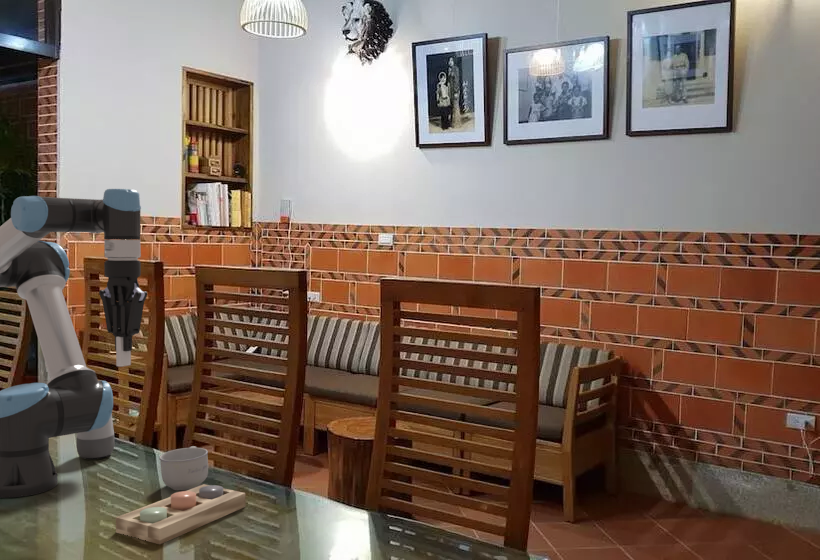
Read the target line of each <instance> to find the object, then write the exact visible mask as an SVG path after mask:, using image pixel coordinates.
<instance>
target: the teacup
mask: <svg viewBox="0 0 820 560" xmlns="http://www.w3.org/2000/svg"><path fill="white" fill-rule="evenodd" d="M208 453H209V451H208V450H207V449H206V448H202V447H197V446H194V445H192V446H189V447H184V448H182V447H181V448H177V449H172V450H168V451H165V452H164V453H162V454H161V455H160V456H159V463H160V473H161V480H162V483H163V484H165V485H166V486H167V487H169V488H170V489H171V490H174V491H187V490H190V489H192V488H195V487H198V486H200V485H202V484H203V482H205V480H206V479H207V477H208V475H209V459H208Z"/></svg>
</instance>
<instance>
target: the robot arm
mask: <svg viewBox="0 0 820 560" xmlns="http://www.w3.org/2000/svg"><path fill="white" fill-rule="evenodd" d="M140 199H141V198H140V193H139V192H138V191H137V190H136V189H130V188H107V189H105V190H104V192H103V198H102V199H94V198H93V199H91V198H74V197H73V198H70V197H69V198H67V197H52V196H51V197H49V196H38V195H29V196H27V195H26V196H25V195H23V196H19V197H17V198H15V199H14V200H13V202H12V203H13V204H12V205H11V209H10V218H9V219H8V220H6V221H5V222H4V223H2V225H0V288H3V287H4V288H6V287H7V288H8V287H10V288H11V287H15V289H16V293H17V296H18V297H19V298H21V299H23V300H26V303H27V306H28V309H29V312H30V315H31V319H32V324H33V326H34V329H35V332H36V336H37V340H38V343H39V346H40V349H41V352H42V356H43V359H44V363H45V365H46V369H47V372H48V376H49V380H48V381H47V383H45V382H31V383H22V384H17V385H13V386H9V387H7V388H3V389H1V390H0V498H2V499H3V498H5V499H8V498H11V499H12V498H21V497H22V498H23V497H28V496H33V495H38V494H41V493H45V492H47V491H49V490H52V489H54V488H55V487H56V486H57V485H58V472H57V470H56V466H55V465H54V461H53V458H52V456H51V454H50V446H49V444H50V443H49V442H50V441H49V440H50V439H51V438H56V437H61V436H62V437H63V436H68V435H72V434H73V435H74V434H77V433H80V432H89V431H91V430H95V429H99V428H102V427H104V426H105V425H106V424H107V423H108V421H109V419H110V417H111V414H112V413H113V409H114V395H113V390H112V387H111V385H110V383H108V381H106V380H102V379H101V380H98V377H97V374H96V373H97V372H96V371H95V370H94V369H91V368H89V367H87V364H86V361H85V358H84V354H83V351H82V348H81V345H80V343H79V339H78V337H77V336H78V335H77V334H76V331H75V330H76V329H75V327H74V324H73V321H72V318H71V314H70V312H69V311H70V310H69V308H68V306H67V302H66V299H65V296H64V294H63V290H64V288H65V287H66V284H67V282H68V280H69V278H70V275H71V274H70V273H71V269H70V268H69V267H70V262H69V258H68V255H67V252H66V251H65V249H64V248H63V247H62V246H61V245H60V244H58V243H56V242H51V241H43V240H42V239H44V237H46V236H48V234H50V233H89V234H90V233H91V234H103V236H104V237H103V239H104V242H103V243H104V246H103V247H104V257H105V258H106V259H107V260H105V261H104V265H103V267H104V277H106V278H108V279H107V283H106V287H105V288H104V289H100V290H99V291H98V294H99V297H100V299H101V302H102V307H103V313H104V318H105V325H106V330H107V331H106V332H108V333H109V334H110V333H111V334H112V335H113V337H114V350H115V352H116V353H115V354H116V359H115V360H116V361H115V362H116V363H115V366H116V367H122V368H123V367H127V366H131V365H132V350H133V336H134V335H138V334H139V333H140V330H141V324H142V319H143V310H144V305H145V301H146V299H147V297H148V292H147V291H143V290H142V289H141V288H140V283H139V281H138V278H139V277H141V276H142V275H141V272H142V271H141V269H142V268H141V267H142V266H141V265H142V264H141V261H140V260H139V258H141V257H142V254H141V253H142V251H141V249H142V248H141V245H142V244H141V209H142V206H141V201H140Z"/></svg>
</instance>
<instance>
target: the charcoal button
mask: <svg viewBox="0 0 820 560" xmlns="http://www.w3.org/2000/svg"><path fill="white" fill-rule="evenodd" d="M223 488H224V487H223V486H221V485H215V484H214V485H211V484H210V486H205V487H202V488H200V489H199V497H202V498H207V499H211V500H212V499H215V498H217V497H220V496H222V495H223Z"/></svg>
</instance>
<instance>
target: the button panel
mask: <svg viewBox="0 0 820 560" xmlns="http://www.w3.org/2000/svg"><path fill="white" fill-rule="evenodd" d="M210 485H211V484H210ZM210 485H209V484H205V483H204V484H203V483H202V484H201V485H200V486H198V487H195V488H192V489H189V490H186V491H192V492H195V493H196V506H195V507H192V508H190V509H188V510H185V511H181V510H177V509H173V508H171V496H169V497H166V498H163V499H161V500H158V501H155V502H153V503H150V504H148V505H145V506H142V507H140V508H137V509H134V510H132V511H130V512H126V513H123V514H121V515H119V516H115V533H117V534H120V535H123V534H124V536H127V535H128V537H131V536H132V537H131V538H134V537H136V538H135V539H138V538H139V539H138V540H142V541H145V540H146V542H150V543H153V544H157V545H162V544H164V543H167V542H169V541H171V540H173V539H175V538H178V537H180V536H182V535H184V534H187V533H189V532H191V531H194V530H196V529H198V528H201V527H202V526H205V525H208V524H210V523H212V522H214V521H216V520H219V519H221V518H224V517H225V516H227V515H230V514H232V513H234V512H237V511H239V510H241V509H244V508H246V492H242V491H237V490H233V489H229V488H228V489H227V488H224V487H223V495H222V496H220V497H217V498H215V499H212V500H211V499H207V498H202V497H199V489H200V488H202V487H205V486H210ZM152 507H162V508H165V509H167V518H165V519H163V520H160V521H158V522H156V523H153V524H152V523H148V522H144V521H140V512H141V511H142V510H144V509H147V508H152Z"/></svg>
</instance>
